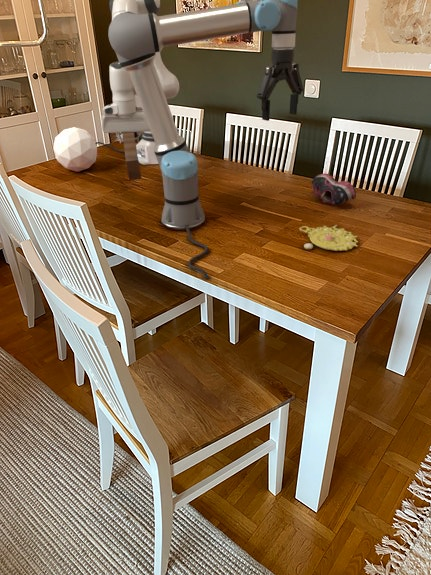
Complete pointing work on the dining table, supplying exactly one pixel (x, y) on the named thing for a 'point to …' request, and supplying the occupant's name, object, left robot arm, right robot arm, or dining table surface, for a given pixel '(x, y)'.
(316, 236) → the decorative object
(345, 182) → the athletic shoe
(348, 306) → the dining table surface
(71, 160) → the sphere
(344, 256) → the dining table surface
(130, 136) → the bar
